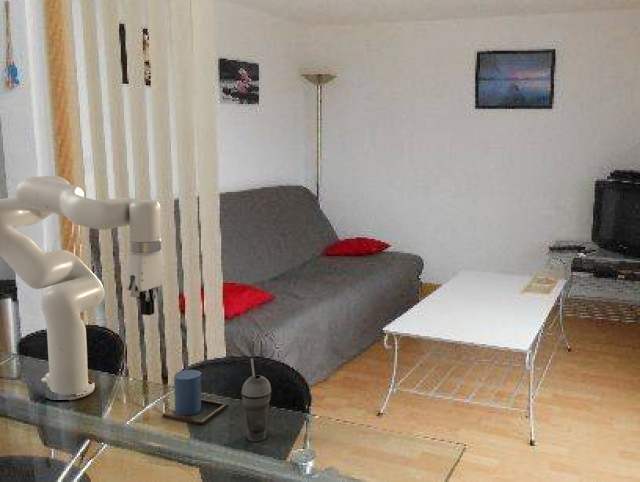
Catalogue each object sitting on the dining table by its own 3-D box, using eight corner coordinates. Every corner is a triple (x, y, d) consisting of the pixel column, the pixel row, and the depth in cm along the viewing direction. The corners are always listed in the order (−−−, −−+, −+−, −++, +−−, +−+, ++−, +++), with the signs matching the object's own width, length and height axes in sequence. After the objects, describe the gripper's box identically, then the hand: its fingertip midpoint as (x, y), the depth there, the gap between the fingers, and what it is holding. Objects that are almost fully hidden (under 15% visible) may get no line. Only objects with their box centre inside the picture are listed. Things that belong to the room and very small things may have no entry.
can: (169, 413, 160) (168, 377, 159) (186, 402, 166) (185, 368, 165) (190, 417, 158) (189, 380, 157) (206, 407, 164) (205, 371, 163)
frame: (162, 417, 158) (162, 414, 157) (191, 399, 169) (191, 396, 169) (201, 425, 154) (201, 422, 154) (228, 406, 165) (228, 403, 165)
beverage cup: (264, 445, 145) (264, 365, 142) (236, 442, 146) (235, 362, 143) (276, 431, 152) (276, 355, 149) (249, 428, 153) (248, 352, 150)
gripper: (153, 241, 168) (155, 305, 171) (113, 250, 154) (115, 320, 157) (176, 243, 166) (177, 308, 168) (137, 253, 152) (139, 323, 154)
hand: (147, 313), depth 162 cm, fingers closed
